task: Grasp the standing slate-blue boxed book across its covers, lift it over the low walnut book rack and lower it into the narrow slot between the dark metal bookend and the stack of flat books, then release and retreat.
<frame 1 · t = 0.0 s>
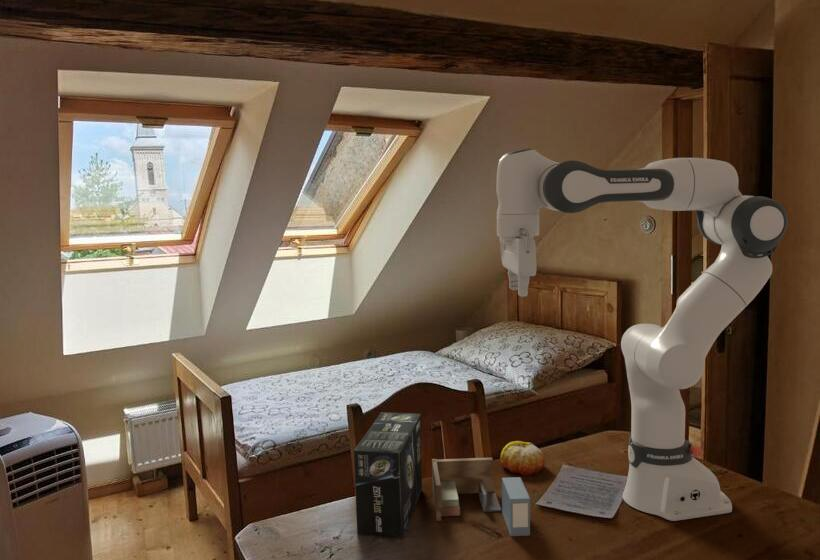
hand: (518, 292, 138), 48 cm above the table, fingers open, 8 cm apart
book: (515, 523, 137), on the table
fruit: (522, 469, 164), on the table
box: (392, 512, 144), on the table
shelf: (465, 503, 146), on the table
bookend: (483, 503, 146), on the table
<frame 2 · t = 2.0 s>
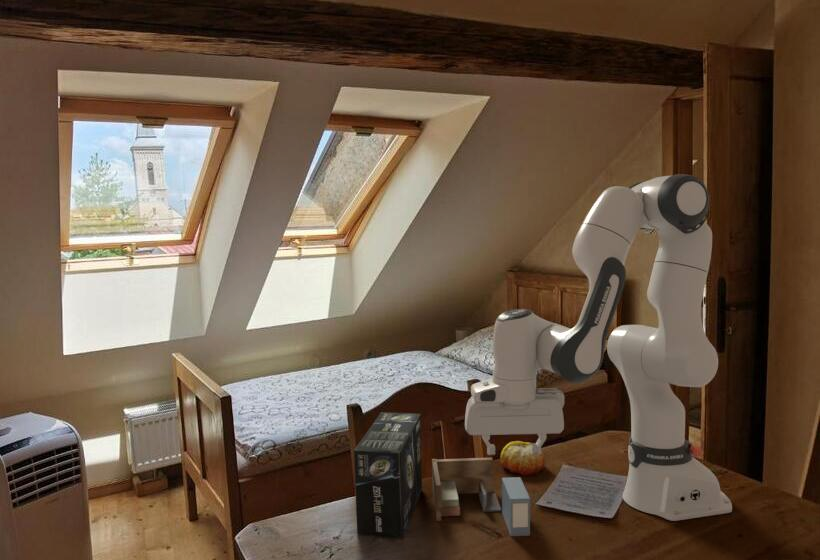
hand: (513, 453, 135), 15 cm above the table, fingers open, 8 cm apart
nothing on the table moved.
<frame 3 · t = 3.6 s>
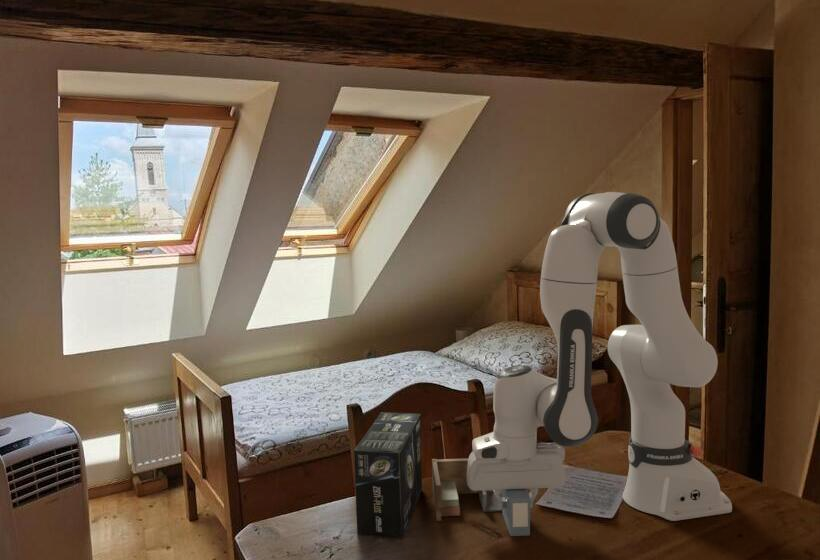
hand: (515, 507, 136), 4 cm above the table, fingers closed on book, 4 cm apart
book: (515, 523, 137), on the table, touching gripper
everything else where it was.
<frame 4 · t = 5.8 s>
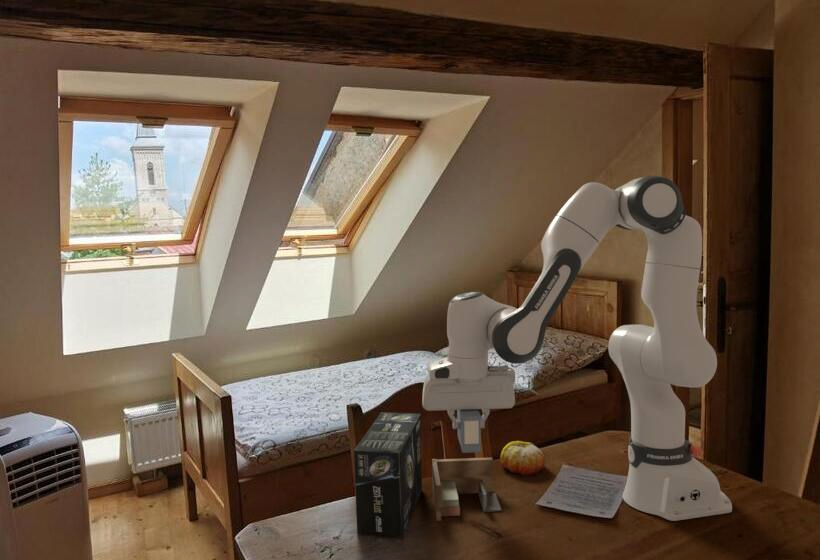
hand: (468, 427, 143), 18 cm above the table, fingers closed on book, 4 cm apart
book: (468, 443, 144), point 14 cm above the table, touching gripper
everything else where it was.
when the fingers open (5 cm above the table, at t = 8.0 s): book drops 1 cm, on the table.
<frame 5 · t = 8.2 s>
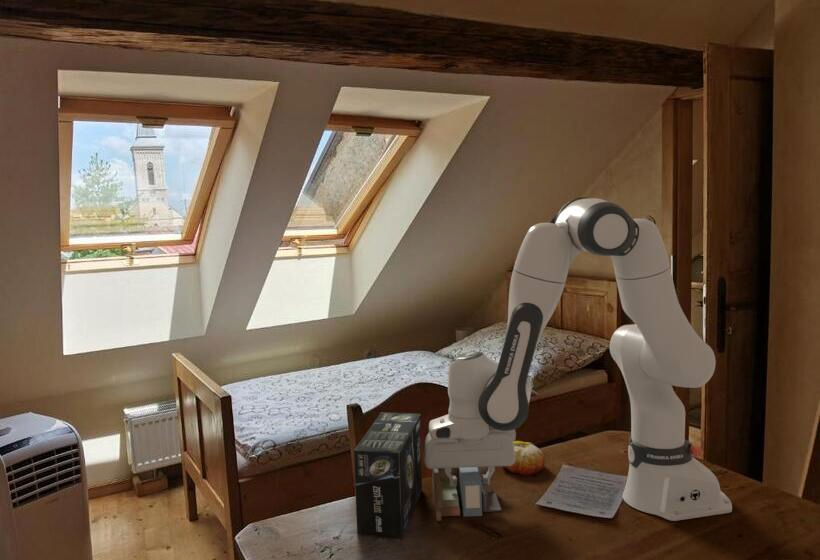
hand: (469, 484, 145), 5 cm above the table, fingers open, 6 cm apart
book: (470, 505, 145), on the table
everything else where it was.
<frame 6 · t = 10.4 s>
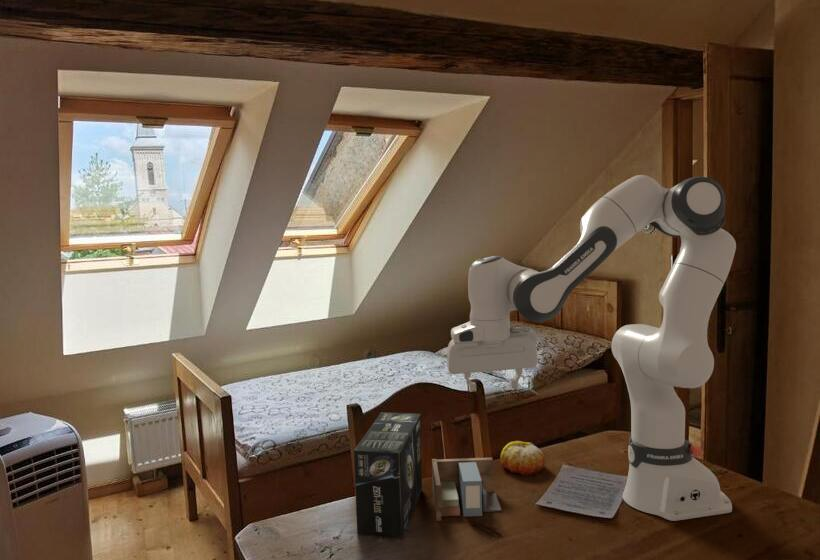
hand: (493, 389, 147), 25 cm above the table, fingers open, 8 cm apart
nothing on the table moved.
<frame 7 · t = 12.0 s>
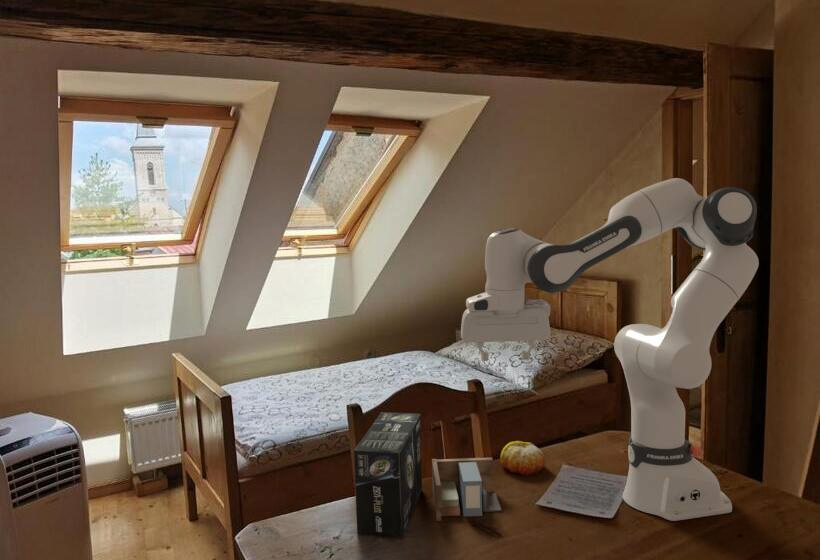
hand: (505, 359, 149), 31 cm above the table, fingers open, 8 cm apart
nothing on the table moved.
at the end: book 0.2 cm from the target spot, on the table; book tilted 0°; the gripper is holding nothing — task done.
